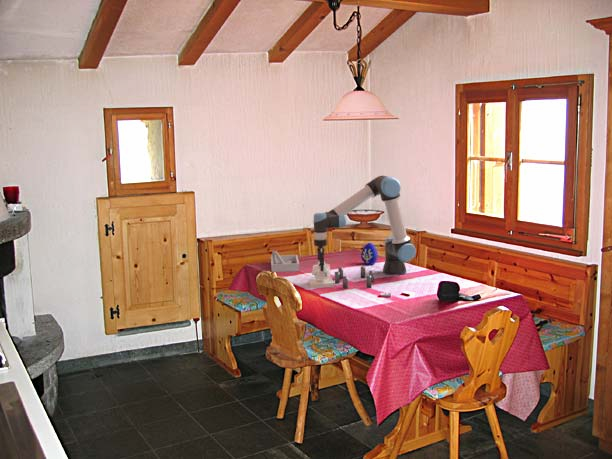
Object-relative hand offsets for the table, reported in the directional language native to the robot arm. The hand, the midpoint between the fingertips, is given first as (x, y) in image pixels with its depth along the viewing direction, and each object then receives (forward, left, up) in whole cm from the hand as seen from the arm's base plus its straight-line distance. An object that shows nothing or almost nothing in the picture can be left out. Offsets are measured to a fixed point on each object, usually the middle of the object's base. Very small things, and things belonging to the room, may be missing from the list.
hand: (321, 273), depth 418 cm
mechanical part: (0, 0, -5) cm, 5 cm away
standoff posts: (-20, -2, -7) cm, 22 cm away
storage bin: (+21, -54, -7) cm, 58 cm away
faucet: (+24, -53, -7) cm, 58 cm away
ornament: (-37, -53, -7) cm, 65 cm away
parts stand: (0, 0, -7) cm, 7 cm away
